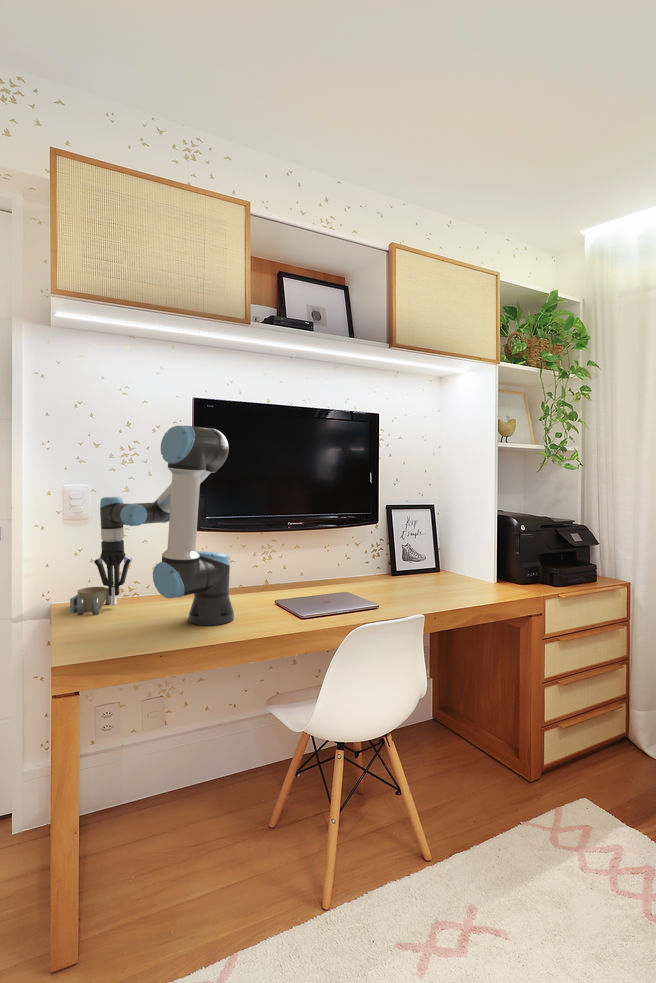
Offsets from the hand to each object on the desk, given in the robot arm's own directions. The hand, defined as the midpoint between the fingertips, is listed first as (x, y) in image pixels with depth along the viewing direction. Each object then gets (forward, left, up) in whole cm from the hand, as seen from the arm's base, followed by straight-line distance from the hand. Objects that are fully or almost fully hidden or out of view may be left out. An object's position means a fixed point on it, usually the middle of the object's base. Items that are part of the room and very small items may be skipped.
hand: (114, 604), depth 190 cm
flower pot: (+7, +1, -2) cm, 8 cm away
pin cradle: (+8, 0, -2) cm, 8 cm away
